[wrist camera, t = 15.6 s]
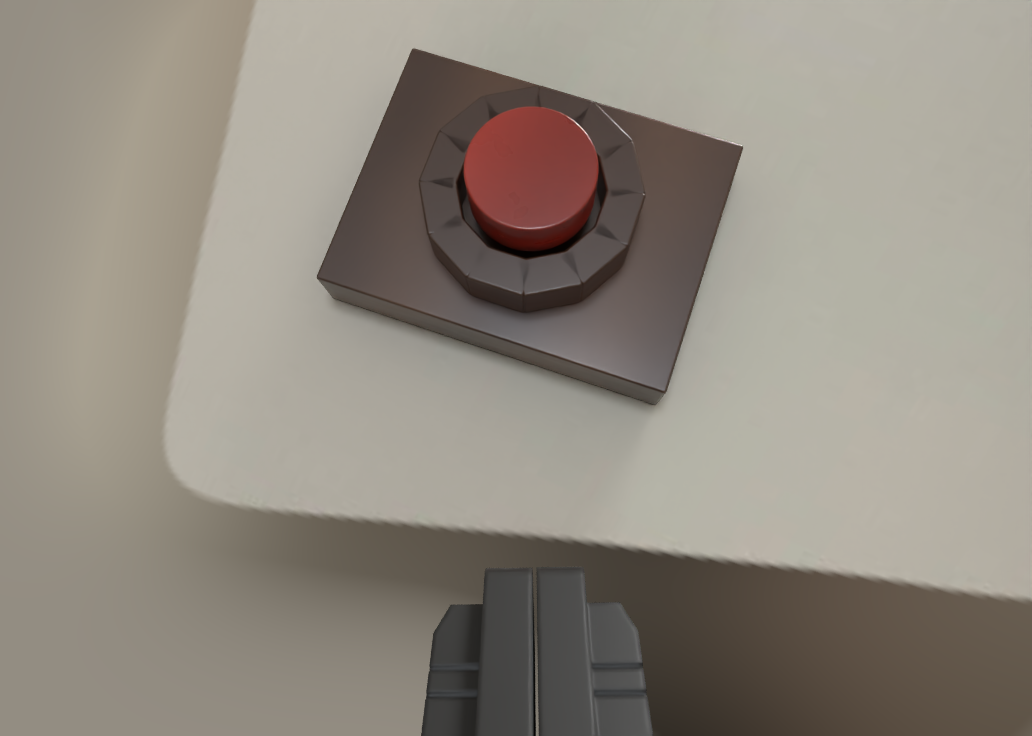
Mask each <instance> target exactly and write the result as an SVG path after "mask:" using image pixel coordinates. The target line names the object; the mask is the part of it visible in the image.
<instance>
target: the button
mask: <svg viewBox="0 0 1032 736" xmlns="http://www.w3.org/2000/svg"><path fill="white" fill-rule="evenodd" d="M463 173H464V181H465V186H466V191H467V195H468V200H469V205H470V208H471V212H472V214H473V216H474V218H475V220H476V222H477V224H478V225H479V226H480V228H481V229H482V230H483V231H484V232H485V233H486V234H487V235H488V236H489V237H490V238H492V239H493V240H495V241H496V242H498V243H500V244H502V245H504V246H506V247H509V248H512V249H516V250H521V251H541V250H546V249H550V248H553V247H556V246H558V245H561V244H562V243H564V242H566V241H568V240H569V239H570V238H572V237H573V236H574V235H575V234H577V233H578V232H579V231H580V230H581V228H582V227H583V226H584V225H585V223H586V221H587V220H588V218H589V216H590V214H591V211H592V209H593V205H594V200H595V193H596V187H597V180H598V173H599V164H598V157H597V153H596V150H595V147H594V145H593V143H592V141H591V139H590V137H589V136H588V134H587V133H586V132H585V131H584V129H583V128H582V127H581V126H580V125H579V124H578V123H576V122H575V121H574V120H573V119H571V118H570V117H568V116H566V115H564V114H562V113H560V112H558V111H555V110H552V109H548V108H543V107H521V108H515V109H511V110H508V111H506V112H503V113H501V114H499V115H497V116H495V117H494V118H492V119H491V120H489V121H488V122H487V123H486V124H484V125H483V126H482V127H481V128H480V129H479V131H478V132H477V133H476V134H475V136H474V137H473V139H472V140H471V142H470V144H469V146H468V148H467V152H466V155H465V159H464V171H463Z"/></svg>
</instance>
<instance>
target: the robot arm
mask: <svg viewBox="0 0 1032 736" xmlns="http://www.w3.org/2000/svg"><path fill="white" fill-rule="evenodd" d="M533 605H534V604H533V570H532V568H486V569H485V578H484V594H483V604H475V605H450V607H449V609H448V610H447V612H446V614H445V615H444V617H443V618H442V620H441V622H440V623H439V625H438V627H437V628H436V630H435V632H434V634H433V642H432V650H431V658H430V672H429V675H428V683H427V696H426V700H425V708H424V716H423V725H422V733H421V736H536V720H535V717H536V715H535V641H534V606H533ZM537 632H538V633H537V634H538V706H539V708H538V709H539V736H653V732H652V726H651V719H650V712H649V705H648V698H647V694H646V684H645V677H644V670H643V663H642V657H641V649H640V642H639V635H638V630H637V628H636V627H635V625H634V624H633V622H632V621H631V619H630V617H629V616H628V615H627V613H626V611H625V610H624V608H623V607H622V605H621V604H620V602H617V603H587V600H586V588H585V576H584V568H583V567H538V568H537Z"/></svg>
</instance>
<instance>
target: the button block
mask: <svg viewBox="0 0 1032 736" xmlns="http://www.w3.org/2000/svg"><path fill="white" fill-rule="evenodd" d="M521 107H543V108H548V109H552V110H555V111H558V112H560V113H562V114H564V115H566V116H568V117H570V118H571V119H573V120H574V121H575V122H576V123H578V124H579V125H580V126H581V127H582V128H583V129H584V131H585V132H586V133H587V134H588V136H589V137H590V139H591V141H592V143H593V145H594V147H595V150H596V153H597V157H598V164H599V173H598V180H597V187H596V193H595V200H594V205H593V209H592V211H591V214H590V216H589V218H588V220H587V221H586V223H585V225H584V226H583V227H582V228H581V230H580V231H579V232H578V233H577V234H575V235H574V236H573V237H572V238H570V239H569V240H568V241H566V242H564V243H562V244H561V245H558V246H556V247H553V248H550V249H546V250H541V251H521V250H516V249H512V248H509V247H506V246H504V245H502V244H500V243H498V242H496V241H495V240H493V239H492V238H490V237H489V236H488V235H487V234H486V233H485V232H484V231H483V230H482V229H481V228H480V226H479V225H478V224H477V222H476V220H475V218H474V216H473V214H472V212H471V208H470V205H469V200H468V195H467V191H466V186H465V181H464V173H463V171H464V159H465V155H466V152H467V148H468V146H469V144H470V142H471V140H472V139H473V137H474V136H475V134H476V133H477V132H478V131H479V129H480V128H481V127H482V126H483V125H484V124H486V123H487V122H488V121H489V120H491V119H492V118H494V117H495V116H497V115H499V114H501V113H503V112H506V111H508V110H511V109H515V108H521ZM742 150H743V146H742V145H739V144H736V143H732V142H729V141H726V140H722V139H719V138H715V137H712V136H709V135H705V134H702V133H698V132H695V131H692V130H688V129H685V128H682V127H678V126H675V125H671V124H668V123H665V122H661V121H658V120H655V119H651V118H648V117H644V116H641V115H638V114H634V113H631V112H627V111H624V110H621V109H617V108H614V107H611V106H607V105H604V104H600V103H597V102H594V101H591V100H588V99H584V98H581V97H577V96H574V95H571V94H567V93H564V92H560V91H557V90H554V89H550V88H547V87H544V86H539V85H536V84H533V83H529V82H526V81H523V80H519V79H516V78H512V77H509V76H506V75H502V74H499V73H496V72H492V71H489V70H485V69H482V68H479V67H475V66H472V65H468V64H465V63H462V62H458V61H455V60H452V59H448V58H445V57H441V56H438V55H435V54H431V53H428V52H424V51H421V50H418V49H412V51H411V53H410V55H409V58H408V60H407V63H406V65H405V67H404V70H403V72H402V75H401V77H400V79H399V82H398V84H397V86H396V89H395V91H394V94H393V96H392V98H391V101H390V103H389V106H388V108H387V110H386V113H385V115H384V117H383V120H382V122H381V125H380V127H379V129H378V132H377V134H376V137H375V139H374V141H373V144H372V146H371V148H370V151H369V153H368V156H367V158H366V160H365V163H364V165H363V168H362V170H361V172H360V175H359V177H358V179H357V182H356V184H355V187H354V189H353V191H352V194H351V196H350V199H349V201H348V203H347V206H346V208H345V210H344V213H343V215H342V218H341V220H340V222H339V225H338V227H337V230H336V232H335V234H334V237H333V239H332V241H331V244H330V246H329V249H328V251H327V253H326V256H325V258H324V261H323V263H322V265H321V268H320V270H319V272H318V275H317V279H318V280H319V281H320V282H321V284H322V285H323V286H324V287H325V289H326V290H327V291H328V292H329V293H330V295H331V296H332V297H333V298H335V299H338V300H341V301H344V302H347V303H350V304H353V305H356V306H359V307H362V308H365V309H368V310H371V311H374V312H377V313H380V314H383V315H386V316H389V317H392V318H395V319H398V320H401V321H404V322H407V323H410V324H413V325H416V326H419V327H422V328H425V329H428V330H431V331H434V332H437V333H440V334H443V335H446V336H449V337H452V338H455V339H458V340H461V341H464V342H467V343H470V344H473V345H476V346H479V347H482V348H485V349H488V350H491V351H494V352H497V353H500V354H503V355H506V356H509V357H512V358H515V359H518V360H521V361H524V362H527V363H530V364H533V365H536V366H539V367H543V368H546V369H549V370H552V371H555V372H558V373H561V374H564V375H567V376H570V377H573V378H576V379H579V380H582V381H585V382H588V383H591V384H594V385H597V386H600V387H603V388H606V389H609V390H612V391H615V392H618V393H621V394H624V395H627V396H630V397H633V398H636V399H639V400H642V401H645V402H648V403H651V404H654V405H656V404H657V403H658V402H659V400H660V399H661V398H662V397H663V395H664V394H665V393H666V391H667V388H668V385H669V382H670V379H671V376H672V372H673V369H674V366H675V363H676V360H677V356H678V353H679V350H680V347H681V344H682V341H683V337H684V334H685V331H686V328H687V325H688V322H689V318H690V315H691V312H692V309H693V306H694V302H695V299H696V296H697V293H698V290H699V287H700V283H701V280H702V277H703V274H704V271H705V268H706V264H707V261H708V258H709V255H710V252H711V248H712V245H713V242H714V239H715V236H716V233H717V229H718V226H719V223H720V220H721V217H722V214H723V210H724V207H725V204H726V201H727V198H728V194H729V191H730V188H731V185H732V182H733V179H734V175H735V172H736V169H737V166H738V163H739V160H740V156H741V153H742Z"/></svg>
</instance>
